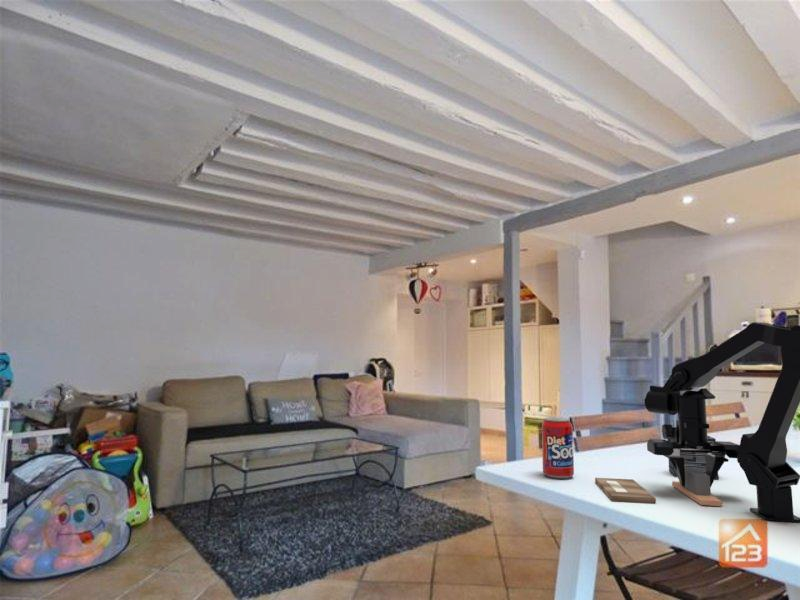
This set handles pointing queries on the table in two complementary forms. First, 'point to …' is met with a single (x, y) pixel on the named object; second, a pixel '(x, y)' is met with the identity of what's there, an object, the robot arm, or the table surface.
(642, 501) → the brown flat board
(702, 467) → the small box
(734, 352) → the robot arm
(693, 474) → the stub
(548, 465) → the soda can
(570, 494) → the table surface
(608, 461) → the table surface
